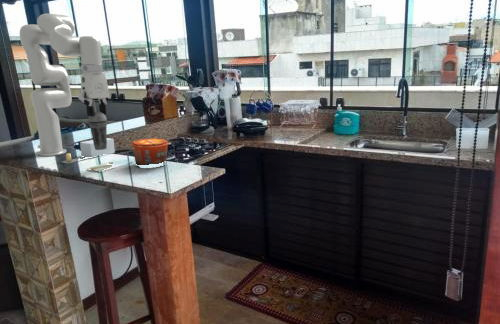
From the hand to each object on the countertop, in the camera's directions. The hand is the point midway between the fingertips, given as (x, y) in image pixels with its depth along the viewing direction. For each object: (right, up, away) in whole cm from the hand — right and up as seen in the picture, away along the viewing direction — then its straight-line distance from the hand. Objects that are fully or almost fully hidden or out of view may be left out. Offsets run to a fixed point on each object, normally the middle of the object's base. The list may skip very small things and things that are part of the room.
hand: (97, 114), depth 149 cm
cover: (-12, -16, +31) cm, 36 cm away
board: (+2, -21, +10) cm, 23 cm away
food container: (+19, -21, +12) cm, 31 cm away
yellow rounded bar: (-18, -19, +19) cm, 32 cm away
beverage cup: (0, -14, +4) cm, 14 cm away
